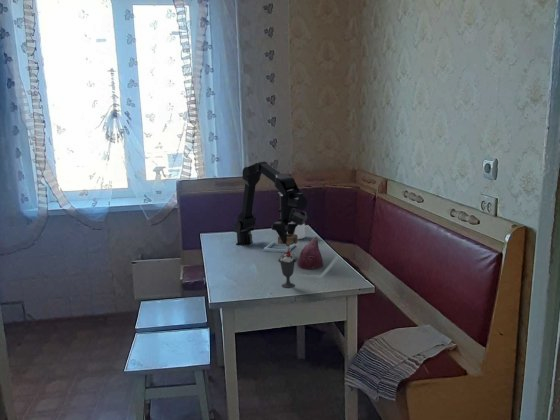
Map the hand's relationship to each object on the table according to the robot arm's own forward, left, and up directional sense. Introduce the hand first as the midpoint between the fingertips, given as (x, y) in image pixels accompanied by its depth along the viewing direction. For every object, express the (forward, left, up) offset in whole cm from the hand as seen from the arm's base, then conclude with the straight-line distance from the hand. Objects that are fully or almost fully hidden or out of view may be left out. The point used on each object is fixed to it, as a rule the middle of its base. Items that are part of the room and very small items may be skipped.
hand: (287, 241), depth 216 cm
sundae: (+11, -32, -8) cm, 35 cm away
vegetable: (+13, -10, -8) cm, 18 cm away
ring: (0, 0, 0) cm, 0 cm away
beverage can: (-7, +34, -8) cm, 36 cm away
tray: (-8, +11, -8) cm, 16 cm away
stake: (0, 0, -8) cm, 8 cm away
